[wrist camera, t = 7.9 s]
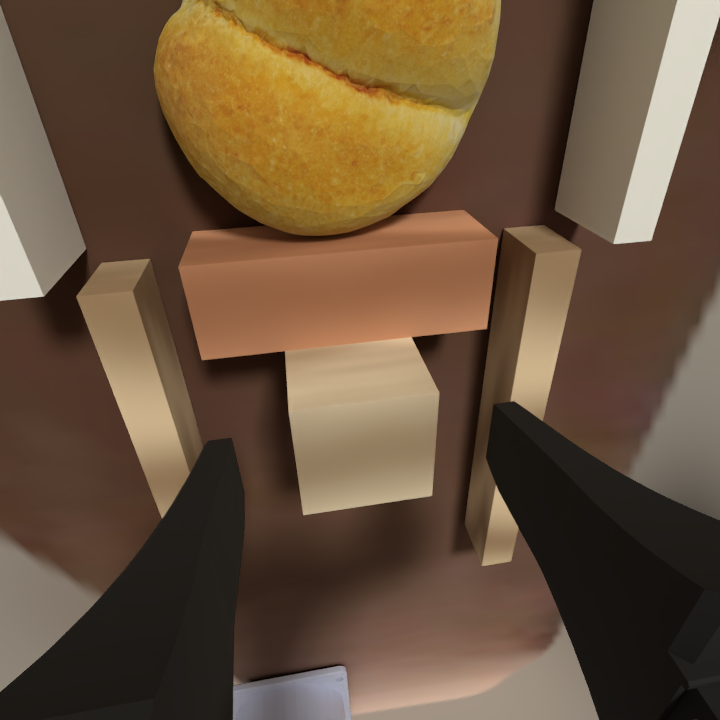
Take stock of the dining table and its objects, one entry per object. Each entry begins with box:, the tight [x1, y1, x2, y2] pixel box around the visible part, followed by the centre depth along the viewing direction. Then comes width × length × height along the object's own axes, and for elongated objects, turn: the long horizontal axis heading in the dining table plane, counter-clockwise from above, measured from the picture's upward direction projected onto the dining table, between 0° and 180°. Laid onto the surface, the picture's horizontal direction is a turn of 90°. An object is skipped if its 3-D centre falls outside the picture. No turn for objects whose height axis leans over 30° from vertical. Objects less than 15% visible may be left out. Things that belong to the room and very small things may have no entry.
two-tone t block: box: [179, 210, 498, 515], centre depth 15 cm, size 7×9×6 cm
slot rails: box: [76, 225, 582, 566], centre depth 20 cm, size 16×15×2 cm
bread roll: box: [154, 0, 501, 236], centre depth 12 cm, size 8×9×4 cm
